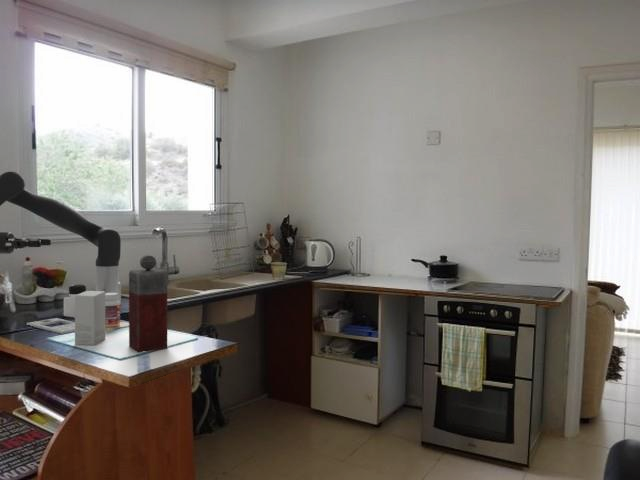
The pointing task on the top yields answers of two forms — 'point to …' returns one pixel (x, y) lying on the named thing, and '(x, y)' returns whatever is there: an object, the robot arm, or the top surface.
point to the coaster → (117, 327)
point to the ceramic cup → (278, 269)
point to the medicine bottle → (72, 299)
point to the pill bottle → (112, 310)
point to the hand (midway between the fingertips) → (45, 243)
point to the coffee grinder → (148, 307)
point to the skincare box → (89, 317)
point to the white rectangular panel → (58, 329)
